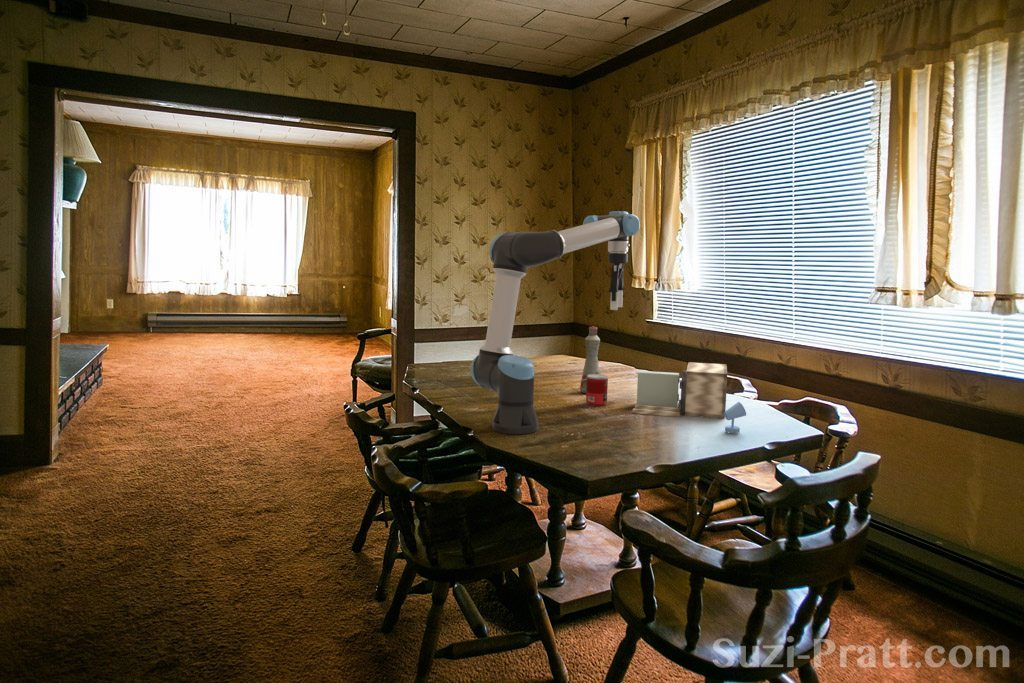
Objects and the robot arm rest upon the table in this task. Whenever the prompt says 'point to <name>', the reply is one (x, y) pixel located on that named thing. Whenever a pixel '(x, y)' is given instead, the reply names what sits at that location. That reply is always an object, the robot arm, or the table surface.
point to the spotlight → (734, 413)
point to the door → (658, 389)
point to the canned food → (596, 390)
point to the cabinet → (697, 393)
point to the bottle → (590, 357)
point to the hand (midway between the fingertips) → (616, 308)
